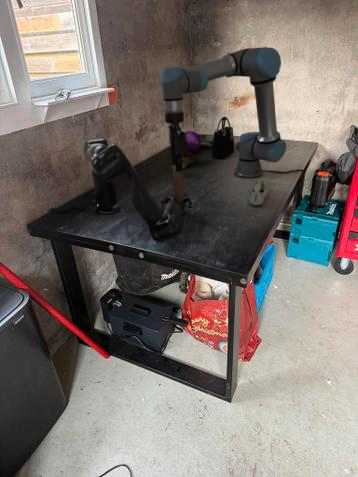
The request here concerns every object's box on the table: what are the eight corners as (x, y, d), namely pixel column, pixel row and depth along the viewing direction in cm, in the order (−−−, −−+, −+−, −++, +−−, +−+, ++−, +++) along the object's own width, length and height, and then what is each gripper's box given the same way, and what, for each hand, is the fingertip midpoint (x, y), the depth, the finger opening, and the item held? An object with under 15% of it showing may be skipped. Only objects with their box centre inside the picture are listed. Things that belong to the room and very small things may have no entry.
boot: (196, 157, 223) (195, 127, 213) (189, 169, 203) (188, 135, 192) (183, 157, 225) (182, 127, 215) (176, 168, 204) (174, 136, 194)
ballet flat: (269, 188, 169) (270, 173, 165) (265, 208, 149) (266, 191, 145) (252, 187, 171) (253, 172, 167) (246, 206, 151) (247, 190, 147)
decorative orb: (204, 151, 235) (204, 129, 228) (194, 156, 225) (193, 134, 217) (186, 149, 243) (186, 128, 235) (175, 154, 232) (174, 132, 224)
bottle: (174, 214, 149) (171, 168, 138) (175, 209, 153) (172, 165, 142) (184, 214, 149) (182, 168, 138) (185, 209, 153) (182, 165, 142)
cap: (183, 169, 139) (183, 166, 138) (173, 171, 138) (173, 167, 138) (180, 167, 143) (180, 163, 142) (171, 168, 142) (170, 165, 141)
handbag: (222, 159, 215) (223, 120, 203) (210, 158, 220) (210, 119, 207) (235, 151, 230) (236, 114, 218) (223, 150, 234) (224, 113, 222)
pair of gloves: (199, 150, 238) (199, 143, 235) (184, 143, 258) (184, 136, 255) (235, 144, 247) (235, 137, 245) (218, 137, 268) (218, 131, 265)
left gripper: (190, 204, 132) (195, 188, 147) (155, 203, 135) (164, 187, 149) (190, 220, 136) (195, 203, 150) (157, 219, 138) (165, 203, 153)
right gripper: (160, 109, 136) (164, 164, 148) (169, 116, 121) (173, 176, 132) (178, 107, 137) (180, 162, 149) (189, 114, 122) (191, 174, 134)
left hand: (179, 195), depth 150 cm, fingers closed on bottle, 4 cm apart
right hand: (177, 168), depth 141 cm, fingers open, 5 cm apart
